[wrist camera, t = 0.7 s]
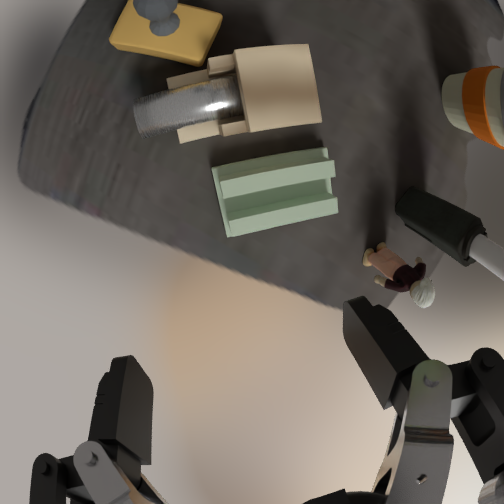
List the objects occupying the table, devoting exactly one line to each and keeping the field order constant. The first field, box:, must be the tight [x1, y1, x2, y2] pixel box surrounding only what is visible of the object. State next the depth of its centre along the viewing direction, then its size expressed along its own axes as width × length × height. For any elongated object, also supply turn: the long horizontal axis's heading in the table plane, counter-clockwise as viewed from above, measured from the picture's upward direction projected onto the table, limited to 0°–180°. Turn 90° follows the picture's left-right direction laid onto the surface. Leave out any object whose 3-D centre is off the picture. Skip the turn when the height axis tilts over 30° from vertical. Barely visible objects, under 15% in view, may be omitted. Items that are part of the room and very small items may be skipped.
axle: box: [133, 75, 244, 139], centre depth 23 cm, size 14×4×4 cm, turn 100°
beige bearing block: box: [167, 44, 322, 143], centre depth 23 cm, size 7×12×8 cm, turn 100°
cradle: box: [212, 147, 338, 237], centre depth 30 cm, size 8×13×4 cm, turn 100°
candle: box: [395, 187, 504, 281], centre depth 25 cm, size 5×5×25 cm
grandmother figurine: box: [363, 242, 435, 308], centre depth 33 cm, size 8×4×13 cm, turn 119°
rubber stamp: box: [109, 0, 223, 67], centre depth 17 cm, size 10×6×12 cm, turn 69°
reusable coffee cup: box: [441, 66, 504, 150], centre depth 23 cm, size 13×13×15 cm
